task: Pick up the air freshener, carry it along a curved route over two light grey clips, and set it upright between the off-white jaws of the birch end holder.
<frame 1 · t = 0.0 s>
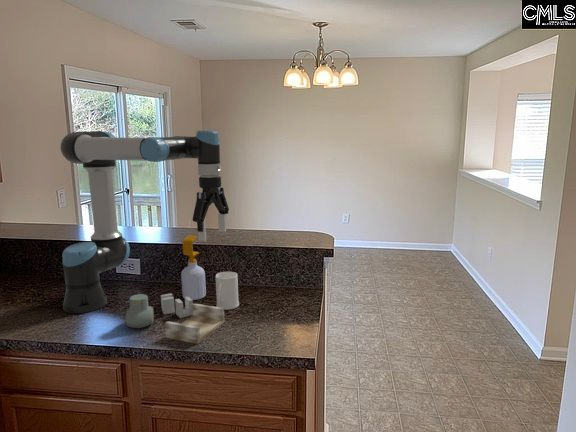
hand: (212, 235, 154), 28 cm above the counter, tool pointing down, fingers open, 13 cm apart
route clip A: (168, 310, 159), on the counter
soap bottle: (194, 296, 173), on the counter
mug: (225, 307, 162), on the counter
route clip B: (184, 314, 156), on the counter
air freshener: (140, 325, 148), on the counter
end holder: (196, 329, 144), on the counter
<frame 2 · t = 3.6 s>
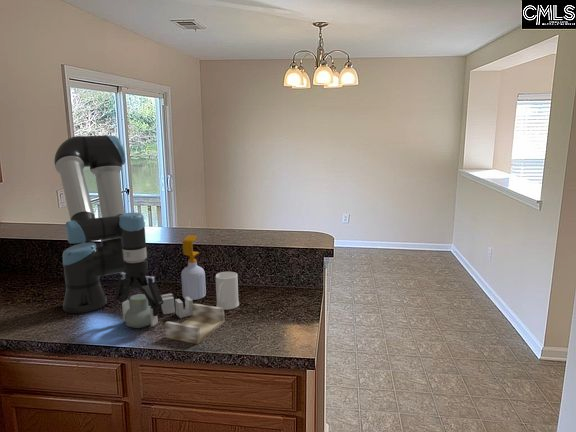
hand: (140, 321, 148), 1 cm above the counter, tool pointing down, fingers closed on air freshener, 11 cm apart
air freshener: (140, 325, 148), on the counter, touching gripper
everything else where it was.
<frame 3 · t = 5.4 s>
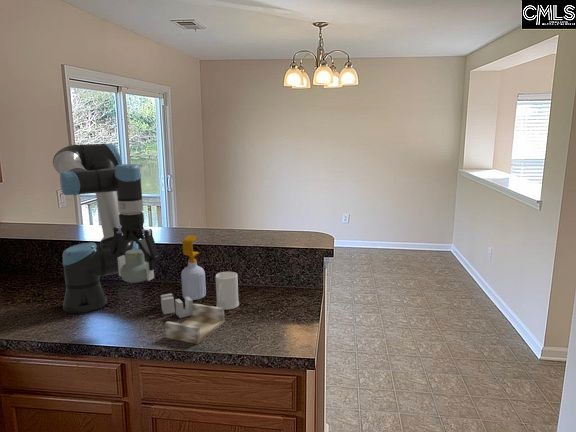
hand: (136, 277, 145), 17 cm above the counter, tool pointing down, fingers closed on air freshener, 11 cm apart
air freshener: (136, 280, 145), point 16 cm above the counter, touching gripper
everything else where it was.
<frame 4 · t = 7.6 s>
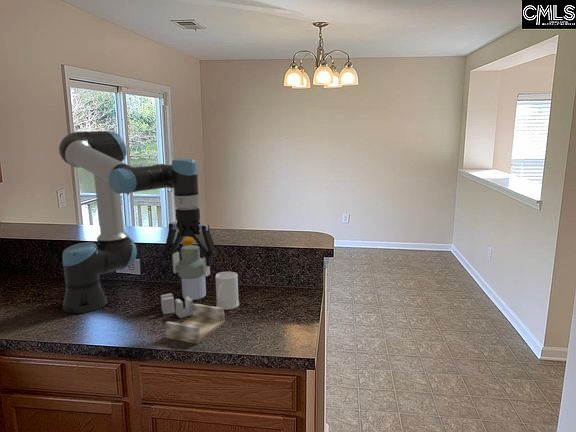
hand: (191, 273, 143), 19 cm above the counter, tool pointing down, fingers closed on air freshener, 11 cm apart
air freshener: (192, 277, 143), point 17 cm above the counter, touching gripper
everything else where it was.
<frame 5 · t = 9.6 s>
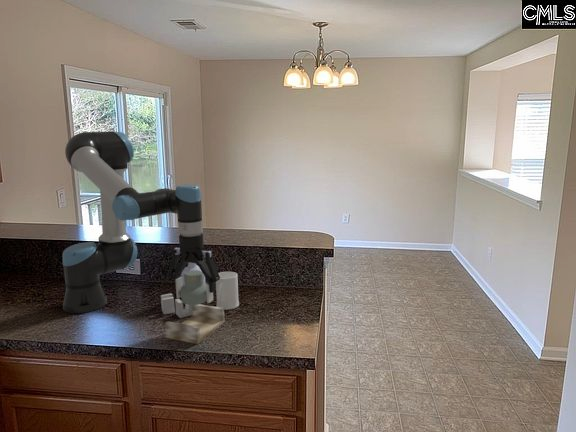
hand: (194, 299, 142), 11 cm above the counter, tool pointing down, fingers closed on air freshener, 11 cm apart
air freshener: (195, 302, 142), point 9 cm above the counter, touching gripper
everything else where it was.
when the fingers open (3 cm above the counter, at t = 11.5 s): air freshener drops 1 cm, resting on end holder.
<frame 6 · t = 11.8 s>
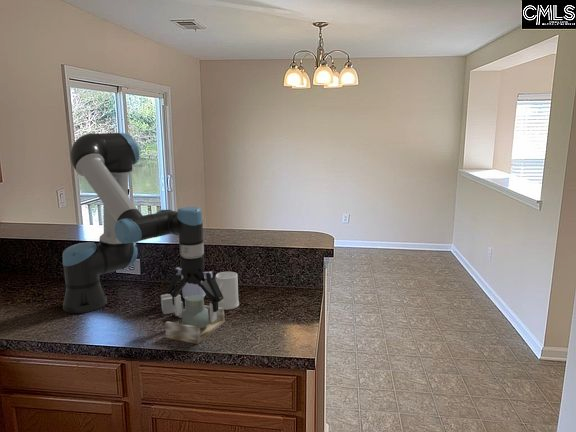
hand: (195, 317, 143), 4 cm above the counter, tool pointing down, fingers open, 13 cm apart
air freshener: (196, 326, 144), point 1 cm above the counter, touching end holder
everything else where it was.
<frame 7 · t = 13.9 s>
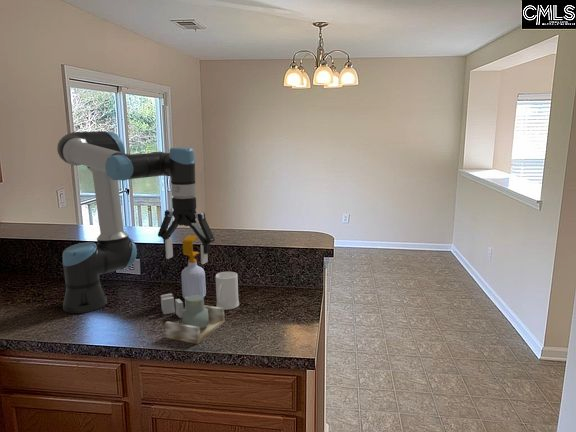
hand: (186, 260, 143), 23 cm above the counter, tool pointing down, fingers open, 13 cm apart
nothing on the counter moved.
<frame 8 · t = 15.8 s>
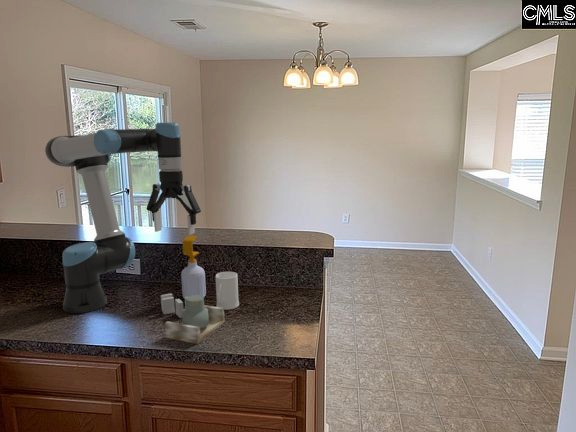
hand: (174, 232, 148), 31 cm above the counter, tool pointing down, fingers open, 13 cm apart
nothing on the counter moved.
at the end: air freshener 0.1 cm off-centre on the end holder, point 0.8 cm above the end holder's base; air freshener tilted 0°; the gripper is holding nothing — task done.
